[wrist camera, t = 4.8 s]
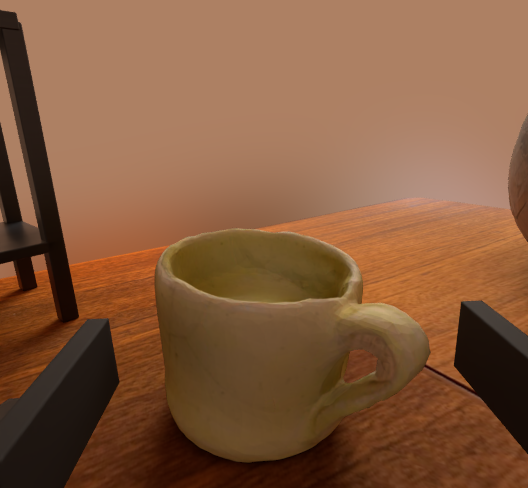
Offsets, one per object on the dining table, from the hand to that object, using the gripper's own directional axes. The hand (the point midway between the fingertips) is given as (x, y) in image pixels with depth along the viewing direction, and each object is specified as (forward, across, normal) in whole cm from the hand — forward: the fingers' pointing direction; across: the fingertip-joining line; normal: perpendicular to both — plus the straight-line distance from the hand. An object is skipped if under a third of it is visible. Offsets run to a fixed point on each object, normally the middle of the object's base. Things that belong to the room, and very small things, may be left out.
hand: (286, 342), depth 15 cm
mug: (+3, 0, -6) cm, 7 cm away
